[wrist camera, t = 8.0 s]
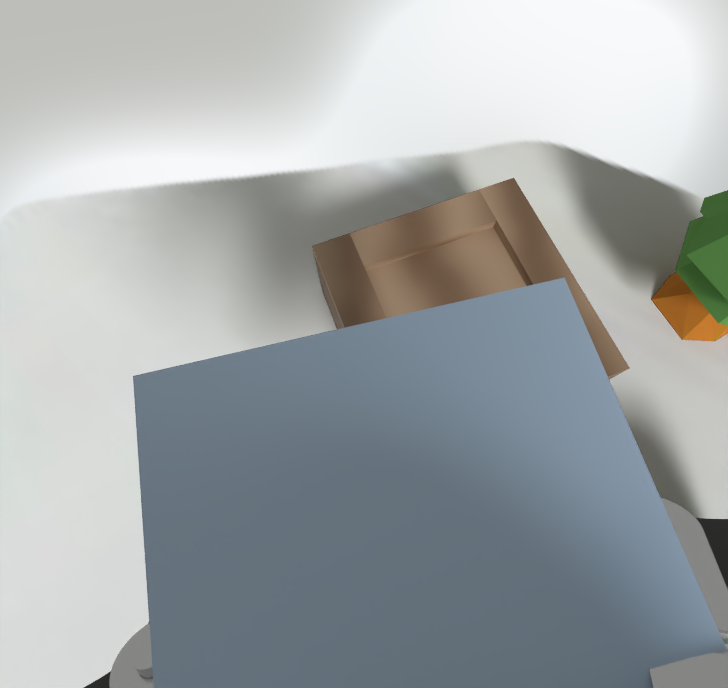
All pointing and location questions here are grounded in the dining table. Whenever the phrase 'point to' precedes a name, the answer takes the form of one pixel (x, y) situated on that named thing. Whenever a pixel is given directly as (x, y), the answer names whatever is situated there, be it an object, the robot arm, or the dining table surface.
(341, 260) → the square wooden tray
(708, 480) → the dining table surface
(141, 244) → the dining table surface
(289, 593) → the blue-grey square-topped block
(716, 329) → the decorative tree
